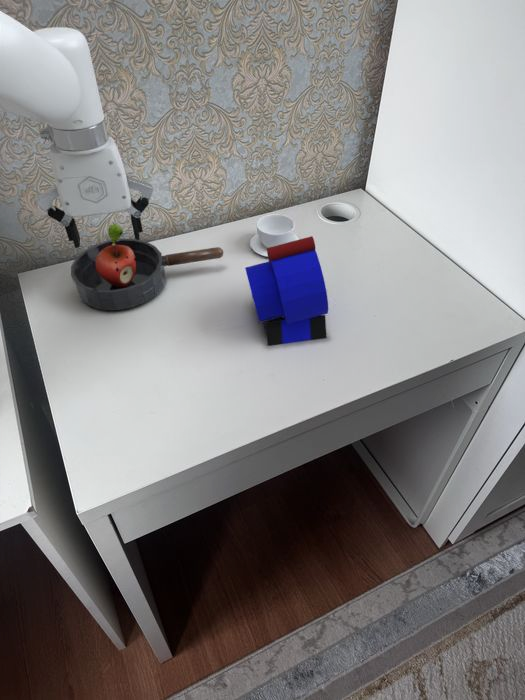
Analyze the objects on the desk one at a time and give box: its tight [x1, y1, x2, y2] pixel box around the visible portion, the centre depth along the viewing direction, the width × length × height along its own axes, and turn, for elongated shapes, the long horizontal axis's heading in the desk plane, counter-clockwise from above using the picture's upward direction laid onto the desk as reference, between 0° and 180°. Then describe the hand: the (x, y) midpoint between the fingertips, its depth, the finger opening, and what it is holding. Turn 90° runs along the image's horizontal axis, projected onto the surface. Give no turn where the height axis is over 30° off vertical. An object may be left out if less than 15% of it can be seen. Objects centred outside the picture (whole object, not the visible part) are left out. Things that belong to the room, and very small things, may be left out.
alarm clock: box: [244, 235, 329, 347], centre depth 75 cm, size 12×12×15 cm
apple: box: [95, 223, 136, 287], centre depth 83 cm, size 8×7×10 cm
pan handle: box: [162, 246, 224, 267], centre depth 86 cm, size 12×2×2 cm, turn 104°
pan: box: [70, 238, 167, 311], centre depth 85 cm, size 16×16×4 cm
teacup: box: [249, 213, 300, 258], centre depth 93 cm, size 10×10×5 cm
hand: (107, 239), depth 80 cm, fingers open, 9 cm apart
